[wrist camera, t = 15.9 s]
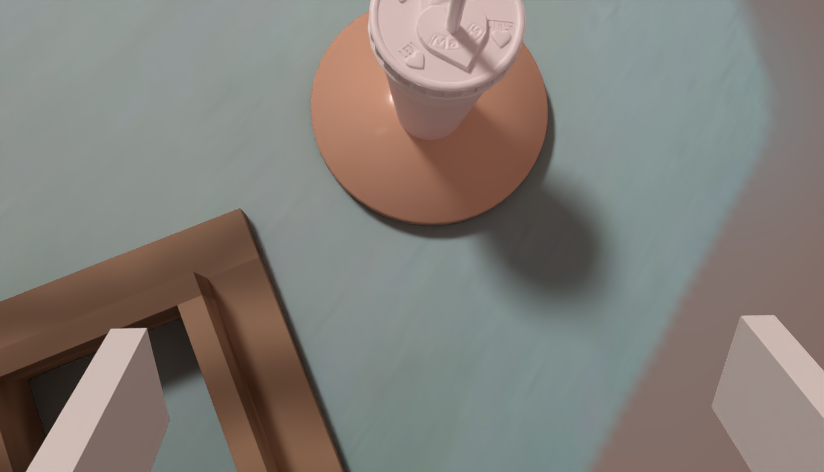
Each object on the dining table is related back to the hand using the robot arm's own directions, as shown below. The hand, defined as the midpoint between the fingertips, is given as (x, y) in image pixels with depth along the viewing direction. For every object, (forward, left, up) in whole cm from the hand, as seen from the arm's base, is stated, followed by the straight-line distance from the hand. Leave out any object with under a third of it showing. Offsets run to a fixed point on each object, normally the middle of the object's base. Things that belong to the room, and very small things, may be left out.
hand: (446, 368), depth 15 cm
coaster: (-12, +6, -19) cm, 24 cm away
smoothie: (-12, +6, -18) cm, 23 cm away
